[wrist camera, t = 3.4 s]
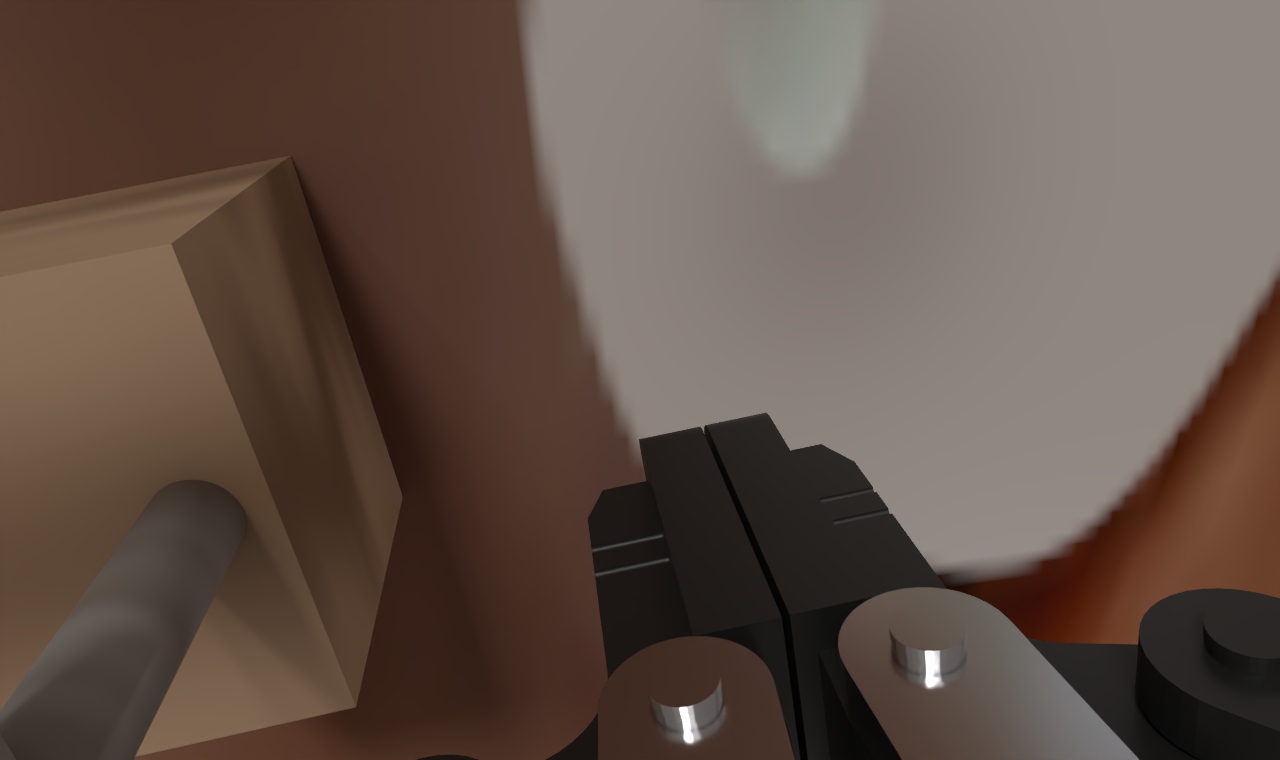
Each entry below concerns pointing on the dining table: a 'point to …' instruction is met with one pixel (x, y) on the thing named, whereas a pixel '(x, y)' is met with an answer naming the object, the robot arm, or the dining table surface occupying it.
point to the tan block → (181, 470)
